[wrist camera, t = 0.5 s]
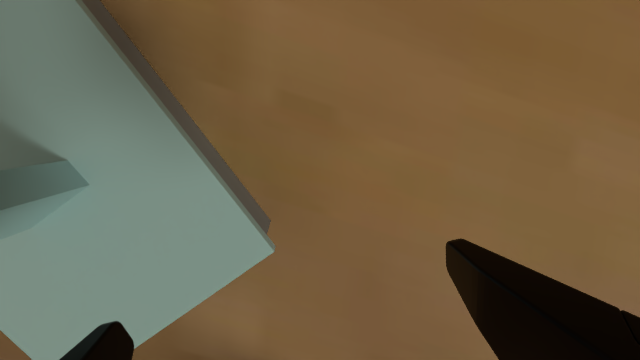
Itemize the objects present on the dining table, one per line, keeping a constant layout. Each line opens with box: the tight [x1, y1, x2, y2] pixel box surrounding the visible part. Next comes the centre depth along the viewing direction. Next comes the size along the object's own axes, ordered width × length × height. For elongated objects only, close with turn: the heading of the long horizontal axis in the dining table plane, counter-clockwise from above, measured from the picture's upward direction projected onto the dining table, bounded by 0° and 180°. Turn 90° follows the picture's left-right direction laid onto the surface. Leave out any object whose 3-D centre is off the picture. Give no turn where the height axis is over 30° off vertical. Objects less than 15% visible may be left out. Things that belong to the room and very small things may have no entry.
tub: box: [82, 0, 271, 235], centre depth 19 cm, size 18×14×4 cm
